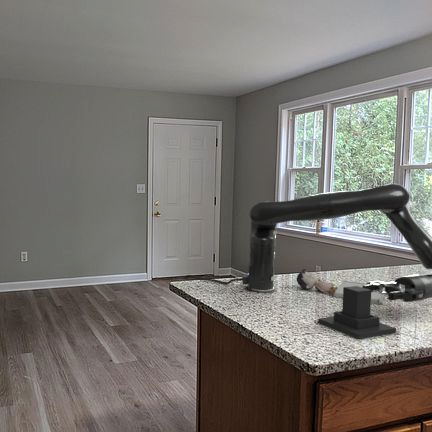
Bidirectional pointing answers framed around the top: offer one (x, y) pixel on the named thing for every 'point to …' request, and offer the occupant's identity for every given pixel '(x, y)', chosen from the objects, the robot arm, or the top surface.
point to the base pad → (357, 325)
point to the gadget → (375, 296)
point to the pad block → (356, 302)
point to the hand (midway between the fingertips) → (376, 292)
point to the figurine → (314, 282)
